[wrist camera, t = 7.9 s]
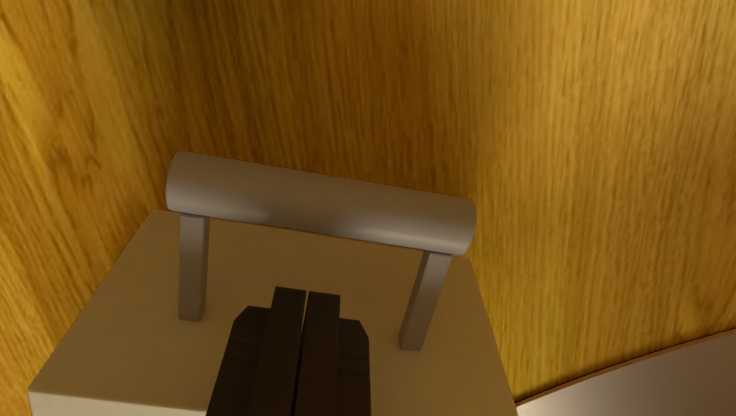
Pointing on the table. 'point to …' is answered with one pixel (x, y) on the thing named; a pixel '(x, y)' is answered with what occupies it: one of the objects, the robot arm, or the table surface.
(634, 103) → the table surface
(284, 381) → the robot arm
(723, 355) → the laptop stand
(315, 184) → the drawer with bar handle
